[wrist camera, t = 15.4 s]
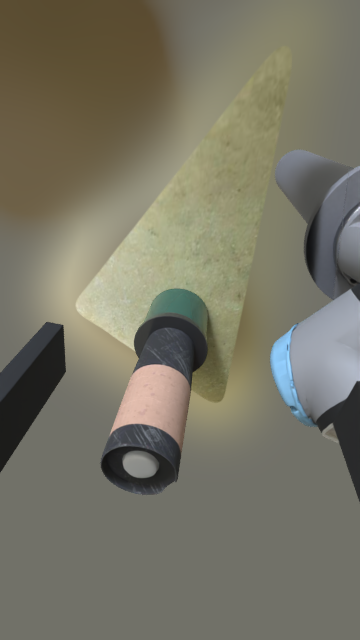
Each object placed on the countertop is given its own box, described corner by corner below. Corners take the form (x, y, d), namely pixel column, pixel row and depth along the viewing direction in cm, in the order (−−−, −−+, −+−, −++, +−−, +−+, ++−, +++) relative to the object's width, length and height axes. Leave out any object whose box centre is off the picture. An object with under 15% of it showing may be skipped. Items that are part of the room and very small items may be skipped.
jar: (208, 284, 53) (204, 314, 45) (212, 340, 58) (210, 376, 50) (142, 288, 55) (127, 317, 46) (152, 342, 60) (141, 377, 52)
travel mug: (140, 326, 47) (89, 443, 30) (193, 324, 46) (173, 445, 29) (149, 369, 51) (109, 494, 34) (198, 368, 49) (183, 497, 32)
